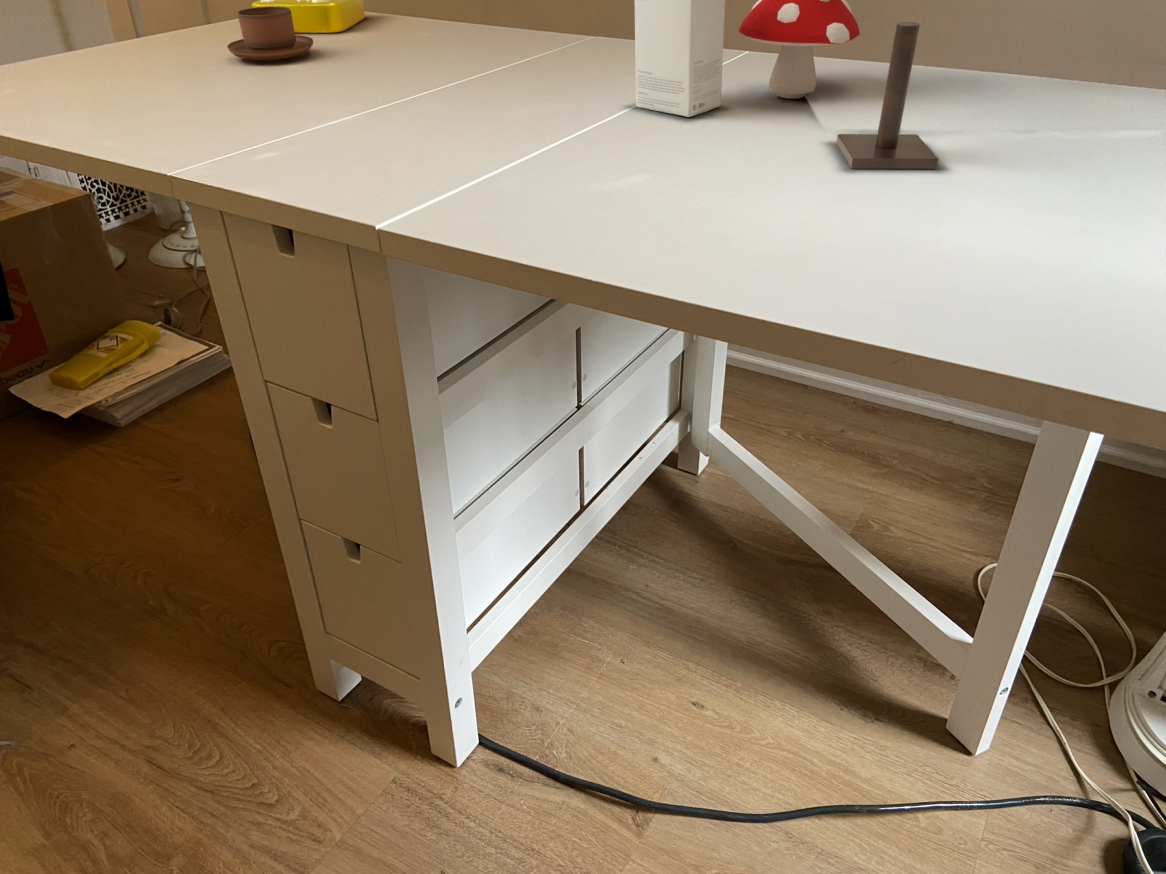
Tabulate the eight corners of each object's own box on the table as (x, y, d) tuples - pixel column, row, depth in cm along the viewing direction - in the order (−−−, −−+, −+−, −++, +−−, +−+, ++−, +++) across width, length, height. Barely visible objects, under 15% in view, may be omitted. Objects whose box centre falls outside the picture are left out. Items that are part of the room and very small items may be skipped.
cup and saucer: (216, 57, 129) (205, 11, 125) (291, 45, 135) (283, 1, 132) (252, 70, 121) (242, 21, 118) (330, 56, 128) (322, 10, 124)
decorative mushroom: (747, 79, 113) (758, -54, 104) (856, 87, 109) (878, -50, 100) (721, 106, 102) (732, -39, 94) (841, 116, 98) (864, -34, 90)
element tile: (368, 17, 154) (364, -14, 152) (341, 33, 142) (336, 1, 139) (286, 16, 156) (280, -14, 153) (252, 33, 144) (245, 1, 141)
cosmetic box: (721, 107, 102) (732, -44, 93) (686, 120, 98) (694, -38, 89) (665, 96, 107) (671, -50, 98) (630, 107, 103) (632, -44, 94)
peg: (915, 143, 90) (941, 15, 83) (936, 169, 83) (966, 32, 76) (836, 143, 90) (855, 16, 83) (851, 168, 83) (873, 32, 77)
